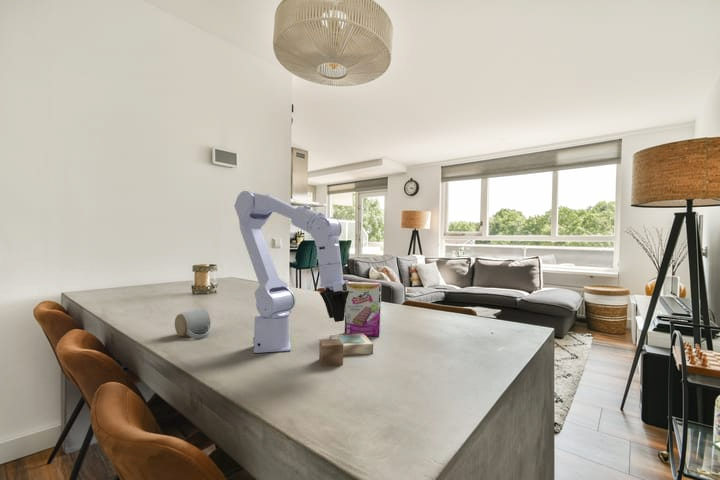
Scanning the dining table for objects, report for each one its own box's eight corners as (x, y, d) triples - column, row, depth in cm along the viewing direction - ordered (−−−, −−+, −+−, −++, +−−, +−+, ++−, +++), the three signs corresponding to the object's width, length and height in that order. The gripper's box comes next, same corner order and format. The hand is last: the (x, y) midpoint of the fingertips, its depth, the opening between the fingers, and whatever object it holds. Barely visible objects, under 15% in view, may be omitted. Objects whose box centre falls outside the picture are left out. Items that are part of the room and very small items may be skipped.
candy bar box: (344, 335, 105) (345, 283, 105) (346, 331, 110) (347, 281, 110) (380, 337, 104) (380, 284, 104) (380, 332, 109) (381, 282, 109)
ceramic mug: (172, 335, 103) (173, 310, 103) (198, 329, 110) (199, 306, 110) (190, 342, 97) (190, 315, 97) (216, 336, 104) (217, 311, 104)
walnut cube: (322, 367, 79) (322, 345, 79) (319, 359, 84) (319, 339, 84) (342, 365, 81) (343, 344, 81) (338, 358, 86) (339, 338, 86)
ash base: (335, 355, 87) (336, 345, 87) (329, 344, 97) (329, 335, 97) (373, 353, 89) (373, 343, 89) (363, 342, 99) (363, 333, 99)
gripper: (352, 261, 79) (359, 320, 78) (340, 263, 93) (345, 313, 92) (322, 265, 77) (329, 325, 76) (314, 266, 91) (320, 317, 90)
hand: (336, 319), depth 84 cm, fingers open, 7 cm apart
